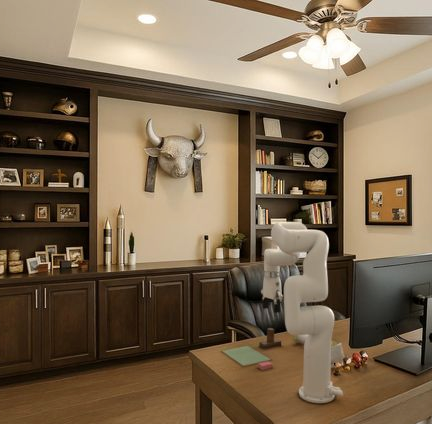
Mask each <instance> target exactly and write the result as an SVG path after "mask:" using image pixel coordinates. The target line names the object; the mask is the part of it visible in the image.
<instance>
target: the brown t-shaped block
mask: <svg viewBox="0 0 432 424" xmlns="http://www.w3.org/2000/svg"><path fill="white" fill-rule="evenodd" d="M258 345H259V347H260V348H262V349H263V350H265V349H271V348H276V347H282V340H280V339H278V338H275V328H272V327H268V328H266V340H263V341H259V343H258Z"/></svg>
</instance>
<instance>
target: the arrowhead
mask: <svg viewBox="0 0 432 424" xmlns="http://www.w3.org/2000/svg"><path fill="white" fill-rule="evenodd" d="M338 343H339V344H338V345H337V344H335V346H334V348H333V351H332V354H331V362H332V363H331V369H334V368H335V366H334V363H338V362H339V363H342V362H343V360H344V358H345V359H346V356H345V354H344V350H343V343H342V342H338ZM343 366H344V367H345V363H344V364H343V365H342V366H341V367H343ZM335 369H336V368H335Z"/></svg>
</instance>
